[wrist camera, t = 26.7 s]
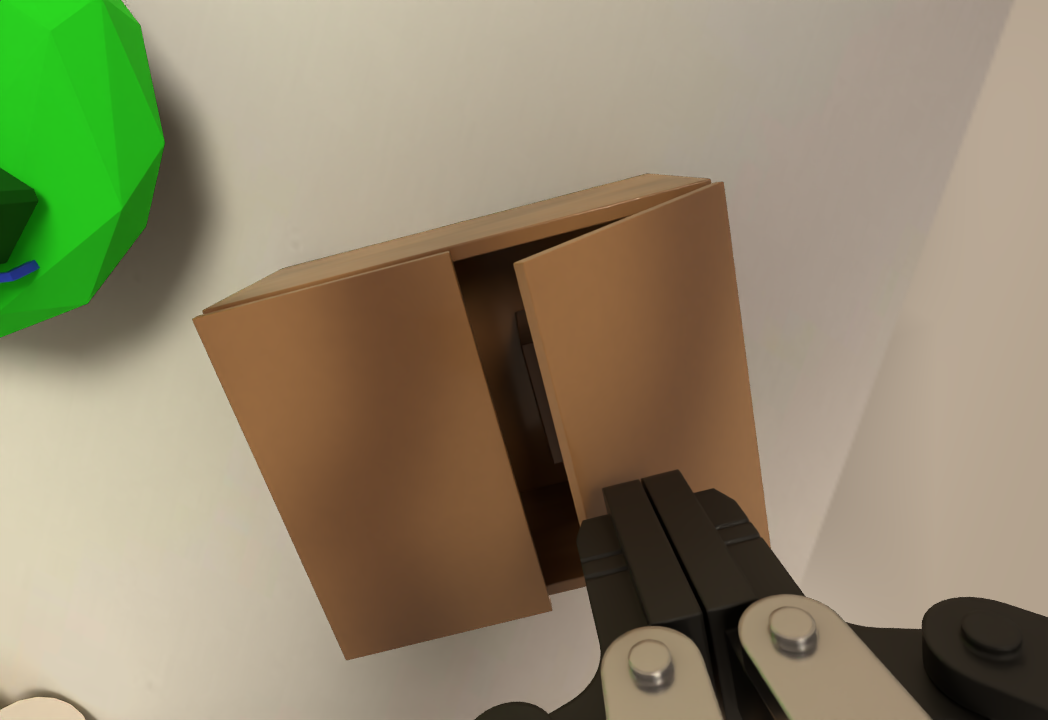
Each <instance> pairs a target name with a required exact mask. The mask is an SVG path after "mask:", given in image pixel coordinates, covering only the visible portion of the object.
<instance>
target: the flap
mask: <svg viewBox="0 0 1048 720" xmlns="http://www.w3.org/2000/svg"><path fill="white" fill-rule="evenodd" d="M513 265H514V269H515V273H516V277H517V281H518V285H519V289H520V293H521V297H522V301H523V304H524V308H525V312H526V316H527V320H528V324H529V328H530V332H531V336H532V340H533V344H534V348H535V352H536V356H537V359H538V363H539V367H540V371H541V375H542V379H543V383H544V387H545V391H546V395H547V399H548V403H549V407H550V411H551V414H552V418H553V422H554V426H555V430H556V434H557V438H558V442H559V446H560V450H561V454H562V458H563V462H564V466H565V469H566V473H567V477H568V481H569V485H570V489H571V493H572V497H573V501H574V505H575V509H576V513H577V517H578V521H579V524H580V526H581V523H582V520H586V519H590V518H594V517H598V516H603V515H607V510H606V505H605V501H604V497H603V492H602V488H604V487H608V486H612V485H616V484H620V483H624V482H629V481H633V480H637V479H639V480H640V482H641V478H644V477H648V476H652V475H656V474H660V473H664V472H668V471H672V470H676V469H678V470H679V471H680V472H681V473H682V475H683V477H684V478H685V480H686V481H687V483H688V485H689V486H690V488H691V489H692V491H693V493H695V492H699V491H703V490H708V489H712V488H714V489H716V490H718V491H720V492H721V493H723V494H725V495H727V496H728V497H730V498H732V499H734V500H735V501H736V502H737V503H738V505H739V506H740V507H741V509H742V510H743V512H744V513H745V514H746V516H747V517H748V518H749V522H751V523H752V524H753V525H754V527H755V528H756V529H757V531H758V532H759V534H760V537H762V538H763V539H764V540H765V542H766V543H767V544H768V546H769V547H770V539H769V531H768V523H767V515H766V508H765V500H764V492H763V484H762V476H761V469H760V461H759V453H758V445H757V438H756V430H755V422H754V414H753V406H752V399H751V391H750V383H749V375H748V368H747V360H746V352H745V344H744V336H743V329H742V321H741V313H740V305H739V297H738V290H737V282H736V274H735V266H734V259H733V251H732V243H731V235H730V227H729V220H728V212H727V204H726V196H725V189H724V182H715V183H711V184H709V185H706V186H704V187H701V188H699V189H696V190H694V191H691V192H689V193H686V194H684V195H681V196H679V197H676V198H674V199H671V200H669V201H667V202H664V203H662V204H659V205H657V206H654V207H652V208H649V209H647V210H644V211H642V212H639V213H637V214H634V215H632V216H629V217H627V218H624V219H622V220H619V221H617V222H614V223H612V224H609V225H607V226H604V227H602V228H599V229H597V230H594V231H592V232H589V233H587V234H584V235H582V236H579V237H577V238H574V239H572V240H569V241H567V242H564V243H562V244H559V245H557V246H554V247H552V248H549V249H547V250H544V251H542V252H540V253H537V254H535V255H532V256H530V257H527V258H525V259H522V260H520V261H517V262H515V263H514V264H513ZM770 549H771V547H770Z"/></svg>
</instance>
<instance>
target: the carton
mask: <svg viewBox="0 0 1048 720" xmlns="http://www.w3.org/2000/svg"><path fill="white" fill-rule="evenodd" d="M709 184H711V180H710V179H707V178H695V177H683V176H671V175H659V174H648V173H647V174H643V175H639V176H636V177H632V178H628V179H624V180H620V181H616V182H613V183H609V184H605V185H601V186H597V187H593V188H590V189H586V190H582V191H578V192H574V193H570V194H566V195H563V196H559V197H555V198H551V199H547V200H543V201H540V202H536V203H532V204H528V205H524V206H520V207H517V208H513V209H509V210H505V211H501V212H497V213H494V214H490V215H486V216H482V217H478V218H474V219H470V220H467V221H463V222H459V223H455V224H451V225H447V226H444V227H440V228H436V229H432V230H428V231H424V232H421V233H417V234H413V235H409V236H405V237H401V238H397V239H394V240H390V241H386V242H382V243H378V244H374V245H371V246H367V247H363V248H359V249H355V250H351V251H348V252H344V253H340V254H336V255H332V256H328V257H324V258H321V259H317V260H313V261H309V262H305V263H301V264H298V265H294V266H290V267H286V268H282V269H280V270H279V271H276V272H275V273H273V274H271V275H269V276H267V277H265V278H263V279H261V280H259V281H257V282H255V283H254V284H252V285H250V286H248V287H246V288H244V289H242V290H240V291H238V292H236V293H235V294H233V295H231V296H229V297H227V298H225V299H223V300H221V301H219V302H217V303H215V304H214V305H212V306H210V307H208V308H206V309H204V310H203V315H199V316H197V317H195V318H193V319H192V321H193V323H194V325H195V327H196V329H197V332H198V334H199V336H200V338H201V340H202V343H203V345H204V347H205V349H206V352H207V354H208V356H209V358H210V360H211V363H212V365H213V367H214V369H215V371H216V374H217V376H218V378H219V380H220V382H221V385H222V387H223V389H224V391H225V394H226V396H227V398H228V400H229V402H230V405H231V407H232V409H233V411H234V413H235V416H236V418H237V420H238V422H239V424H240V427H241V429H242V431H243V433H244V436H245V438H246V440H247V442H248V444H249V447H250V449H251V451H252V453H253V455H254V458H255V460H256V462H257V464H258V467H259V469H260V471H261V473H262V475H263V478H264V480H265V482H266V484H267V486H268V489H269V491H270V493H271V495H272V497H273V500H274V502H275V504H276V506H277V509H278V511H279V513H280V515H281V517H282V520H283V522H284V524H285V526H286V528H287V531H288V533H289V535H290V537H291V539H292V542H293V544H294V546H295V548H296V551H297V553H298V555H299V557H300V559H301V562H302V564H303V566H304V568H305V570H306V573H307V575H308V577H309V579H310V582H311V584H312V586H313V588H314V590H315V593H316V595H317V597H318V599H319V601H320V604H321V606H322V608H323V610H324V612H325V615H326V617H327V619H328V621H329V624H330V626H331V628H332V630H333V632H334V635H335V637H336V639H337V641H338V643H339V646H340V648H341V650H342V652H343V654H344V657H345V659H346V660H350V659H354V658H359V657H363V656H367V655H371V654H375V653H379V652H383V651H388V650H392V649H396V648H400V647H404V646H408V645H412V644H417V643H421V642H425V641H429V640H433V639H437V638H441V637H445V636H450V635H454V634H458V633H462V632H466V631H470V630H474V629H479V628H483V627H487V626H491V625H495V624H499V623H503V622H508V621H512V620H516V619H520V618H524V617H528V616H532V615H537V614H541V613H545V612H549V611H552V603H551V600H550V597H549V595H552V594H557V593H561V592H565V591H569V590H573V589H577V588H581V587H585V586H586V583H585V578H584V574H583V570H582V565H581V561H580V557H579V552H578V548H577V544H576V538H577V535H578V532H579V529H580V524H579V521H578V517H577V513H576V509H575V505H574V501H573V497H572V493H571V489H570V485H569V481H568V477H567V473H566V469H565V466H564V462H562V463H558V464H553V462H552V459H551V455H550V452H549V448H548V444H547V441H546V437H545V434H544V430H543V426H542V423H541V419H540V415H539V412H538V408H537V405H536V401H535V397H534V394H533V390H532V387H531V383H530V379H529V376H528V372H527V368H526V365H525V361H524V358H523V354H522V350H521V346H520V340H519V334H518V329H517V323H516V317H515V312H517V311H521V310H524V309H525V308H524V304H523V301H522V297H521V293H520V289H519V285H518V281H517V277H516V273H515V269H514V265H513V264H514V263H515V262H517V261H520V260H522V259H525V258H527V257H530V256H532V255H535V254H537V253H540V252H542V251H544V250H547V249H549V248H552V247H554V246H557V245H559V244H562V243H564V242H567V241H569V240H572V239H574V238H577V237H579V236H582V235H584V234H587V233H589V232H592V231H594V230H597V229H599V228H602V227H604V226H607V225H609V224H612V223H614V222H617V221H619V220H622V219H624V218H627V217H629V216H632V215H634V214H637V213H639V212H642V211H644V210H647V209H649V208H652V207H654V206H657V205H659V204H662V203H664V202H667V201H669V200H671V199H674V198H676V197H679V196H681V195H684V194H686V193H689V192H691V191H694V190H696V189H699V188H701V187H704V186H706V185H709Z"/></svg>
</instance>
